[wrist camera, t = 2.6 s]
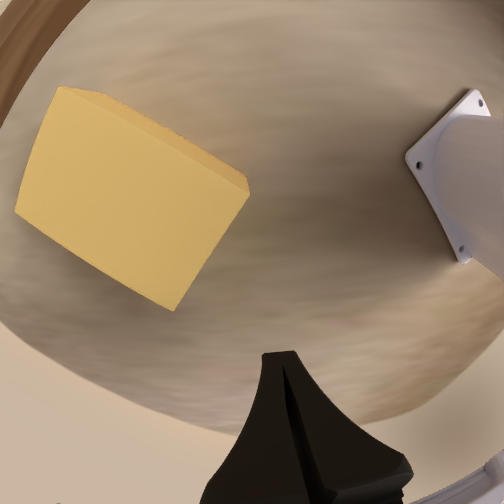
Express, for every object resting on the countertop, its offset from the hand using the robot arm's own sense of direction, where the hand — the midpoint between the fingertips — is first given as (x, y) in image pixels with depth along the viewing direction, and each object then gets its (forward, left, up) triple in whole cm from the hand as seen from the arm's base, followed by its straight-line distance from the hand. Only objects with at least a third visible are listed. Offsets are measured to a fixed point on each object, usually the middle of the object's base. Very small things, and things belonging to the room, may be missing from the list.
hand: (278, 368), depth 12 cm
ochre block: (+9, 0, -6) cm, 11 cm away
